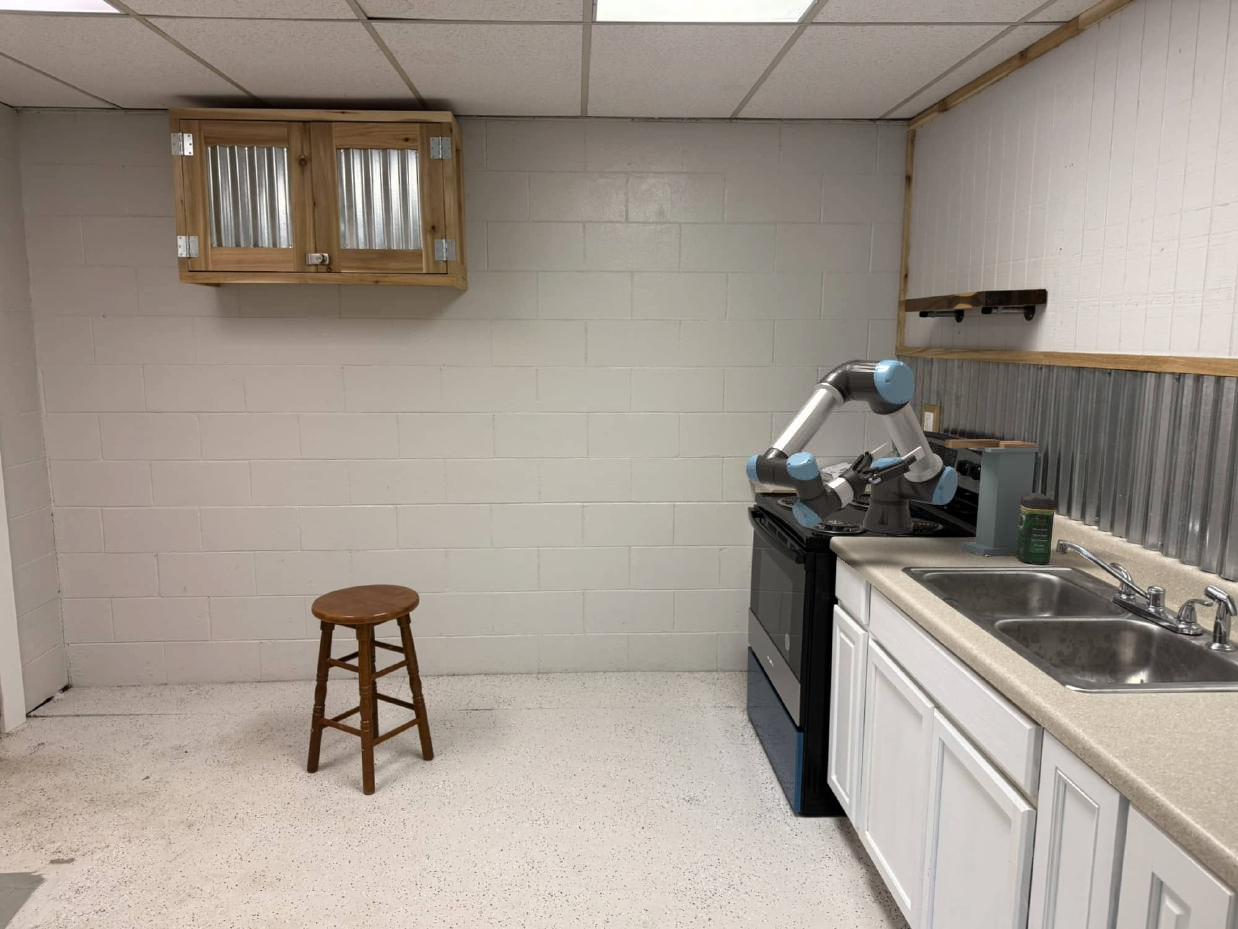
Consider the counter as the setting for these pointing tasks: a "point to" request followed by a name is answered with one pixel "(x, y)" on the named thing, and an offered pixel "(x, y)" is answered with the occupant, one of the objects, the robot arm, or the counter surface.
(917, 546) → the counter surface
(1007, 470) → the stand
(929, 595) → the counter surface
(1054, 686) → the counter surface
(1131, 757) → the counter surface
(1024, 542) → the coffee jar
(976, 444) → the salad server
